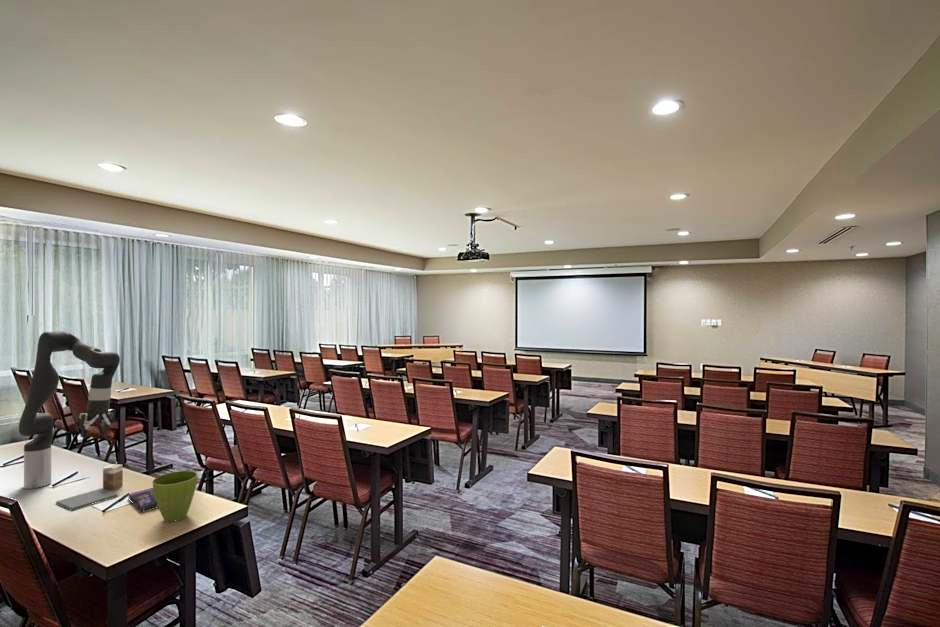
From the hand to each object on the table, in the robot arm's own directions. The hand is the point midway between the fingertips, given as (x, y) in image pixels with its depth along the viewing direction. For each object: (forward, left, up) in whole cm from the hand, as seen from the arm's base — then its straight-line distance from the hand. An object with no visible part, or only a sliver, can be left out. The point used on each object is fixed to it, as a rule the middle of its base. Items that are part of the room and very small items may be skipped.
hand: (94, 435), depth 193 cm
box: (+23, +12, -29) cm, 39 cm away
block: (-9, +11, -28) cm, 31 cm away
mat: (-3, -1, -28) cm, 28 cm away
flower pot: (+48, +7, -28) cm, 56 cm away
